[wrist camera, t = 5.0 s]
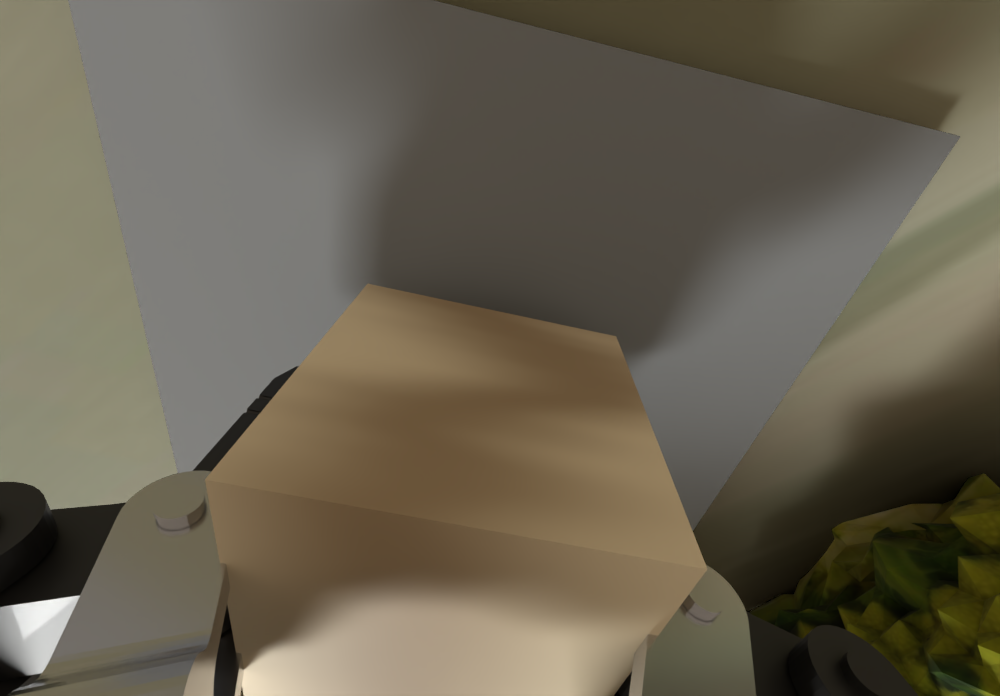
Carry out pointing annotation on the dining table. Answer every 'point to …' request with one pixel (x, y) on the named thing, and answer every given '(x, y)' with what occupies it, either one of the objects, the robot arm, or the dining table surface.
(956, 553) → the vegetable
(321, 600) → the cube
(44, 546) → the robot arm
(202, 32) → the mat
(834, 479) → the dining table surface
